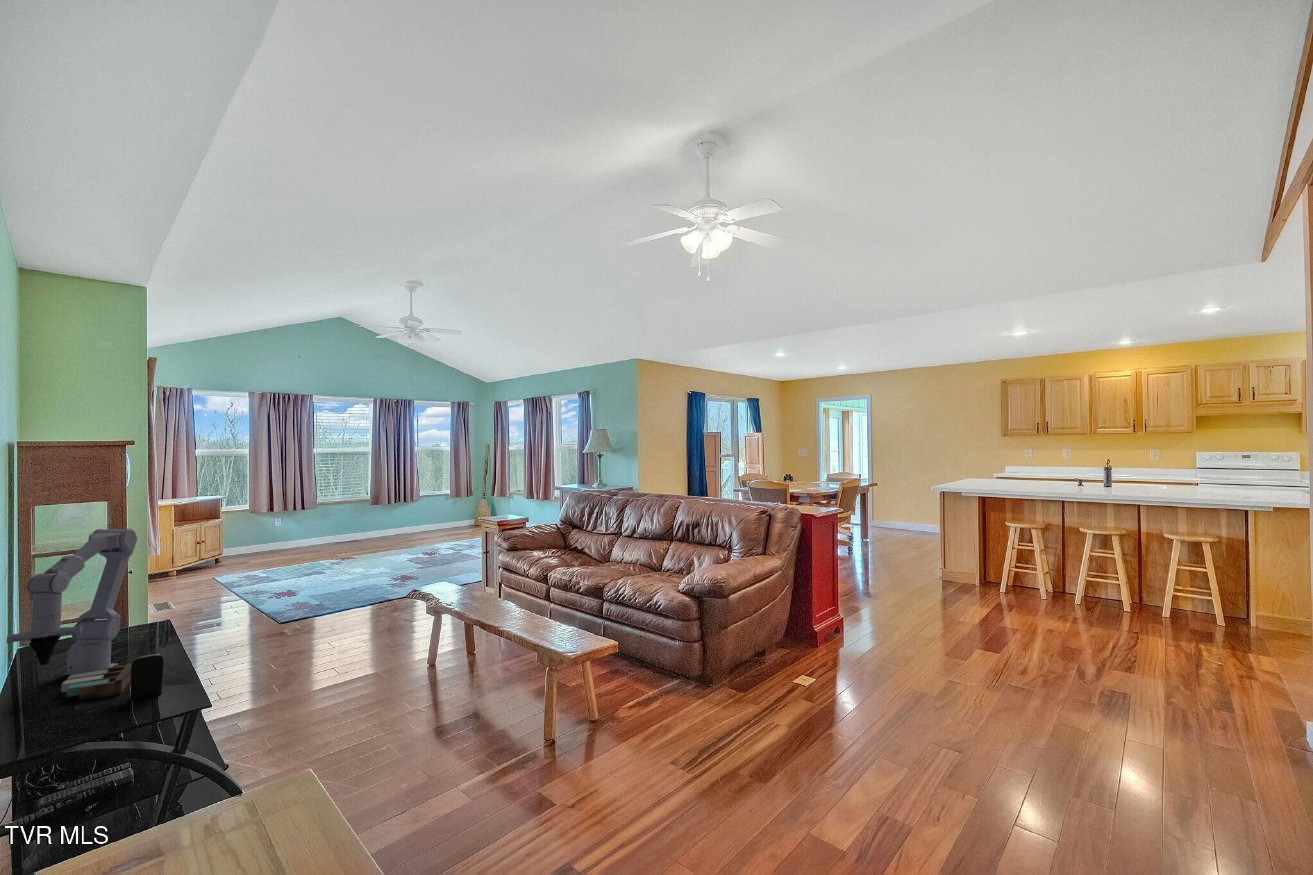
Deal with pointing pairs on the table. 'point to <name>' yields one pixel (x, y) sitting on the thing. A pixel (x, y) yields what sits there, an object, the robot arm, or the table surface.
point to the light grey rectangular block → (86, 674)
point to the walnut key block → (116, 685)
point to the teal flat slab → (75, 688)
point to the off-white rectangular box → (78, 682)
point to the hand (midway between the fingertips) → (44, 663)
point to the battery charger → (146, 676)
